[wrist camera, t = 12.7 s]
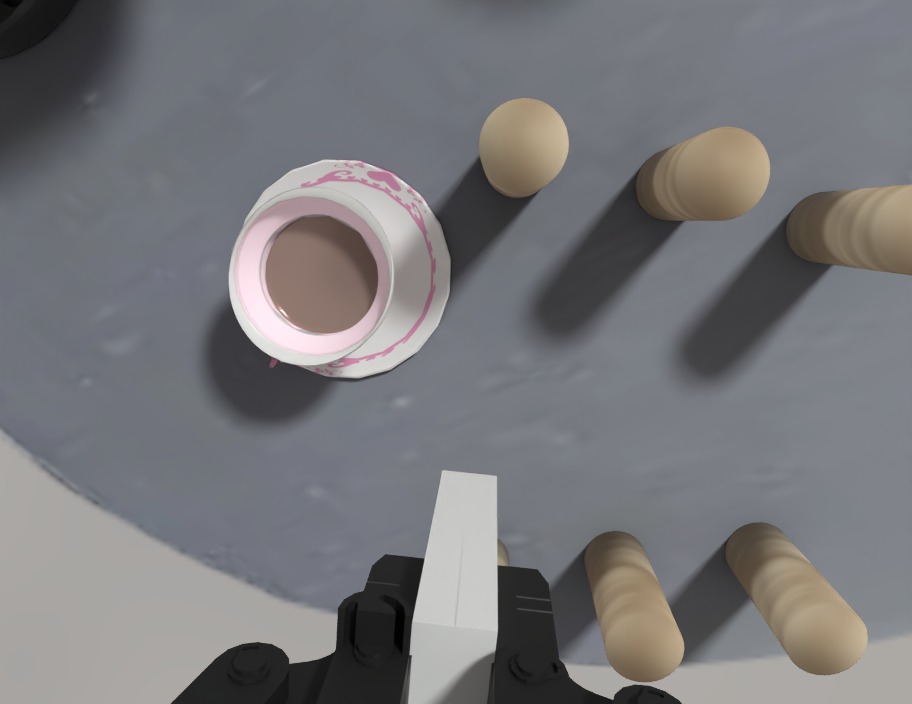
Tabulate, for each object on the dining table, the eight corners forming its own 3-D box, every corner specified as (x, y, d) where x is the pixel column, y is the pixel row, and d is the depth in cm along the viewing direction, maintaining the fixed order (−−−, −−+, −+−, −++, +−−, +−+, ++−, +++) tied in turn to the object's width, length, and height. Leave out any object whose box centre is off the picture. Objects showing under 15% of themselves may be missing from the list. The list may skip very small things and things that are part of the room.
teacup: (295, 118, 34) (251, 96, 28) (491, 228, 34) (489, 230, 28) (206, 312, 36) (147, 330, 30) (390, 412, 37) (368, 450, 31)
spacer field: (446, 583, 39) (432, 675, 31) (487, 124, 33) (482, 94, 25) (774, 620, 38) (846, 725, 30) (873, 154, 32) (993, 133, 24)
